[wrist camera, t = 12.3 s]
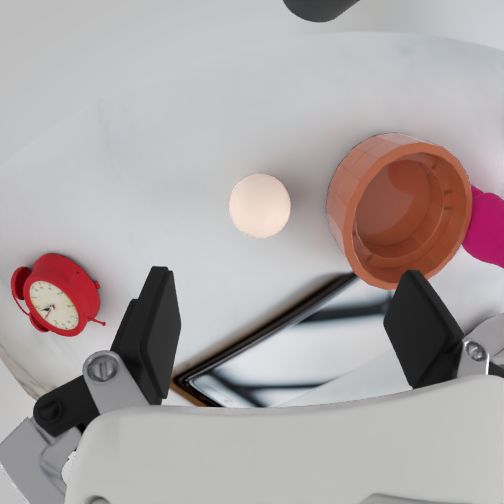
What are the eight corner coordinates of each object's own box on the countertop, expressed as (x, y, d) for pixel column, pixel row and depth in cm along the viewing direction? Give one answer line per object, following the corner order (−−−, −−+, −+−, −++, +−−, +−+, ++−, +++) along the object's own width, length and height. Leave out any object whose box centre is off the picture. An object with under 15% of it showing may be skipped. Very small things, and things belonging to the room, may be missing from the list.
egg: (232, 163, 24) (228, 186, 18) (288, 168, 24) (303, 193, 18) (228, 215, 26) (224, 252, 20) (281, 219, 26) (292, 256, 21)
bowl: (333, 121, 22) (357, 128, 17) (451, 146, 22) (485, 160, 18) (315, 258, 29) (329, 292, 24) (422, 259, 29) (446, 286, 24)
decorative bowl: (449, 395, 50) (469, 442, 37) (379, 386, 42) (402, 457, 30) (534, 305, 37) (567, 349, 24) (500, 254, 29) (560, 317, 16)
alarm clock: (112, 337, 29) (25, 354, 27) (118, 305, 34) (37, 325, 32) (71, 262, 24) (-17, 292, 22) (86, 235, 29) (2, 266, 27)
